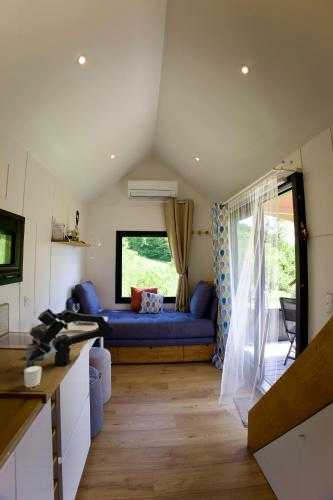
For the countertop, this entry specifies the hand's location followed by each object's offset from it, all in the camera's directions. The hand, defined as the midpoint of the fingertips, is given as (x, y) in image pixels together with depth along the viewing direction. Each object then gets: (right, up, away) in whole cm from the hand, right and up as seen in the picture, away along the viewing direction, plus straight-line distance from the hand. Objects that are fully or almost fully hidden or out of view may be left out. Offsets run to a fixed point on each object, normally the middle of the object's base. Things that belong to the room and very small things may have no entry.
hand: (27, 357), depth 122 cm
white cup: (+10, -6, -14) cm, 18 cm away
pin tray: (-4, -7, +20) cm, 22 cm away
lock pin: (+1, -7, 0) cm, 7 cm away
